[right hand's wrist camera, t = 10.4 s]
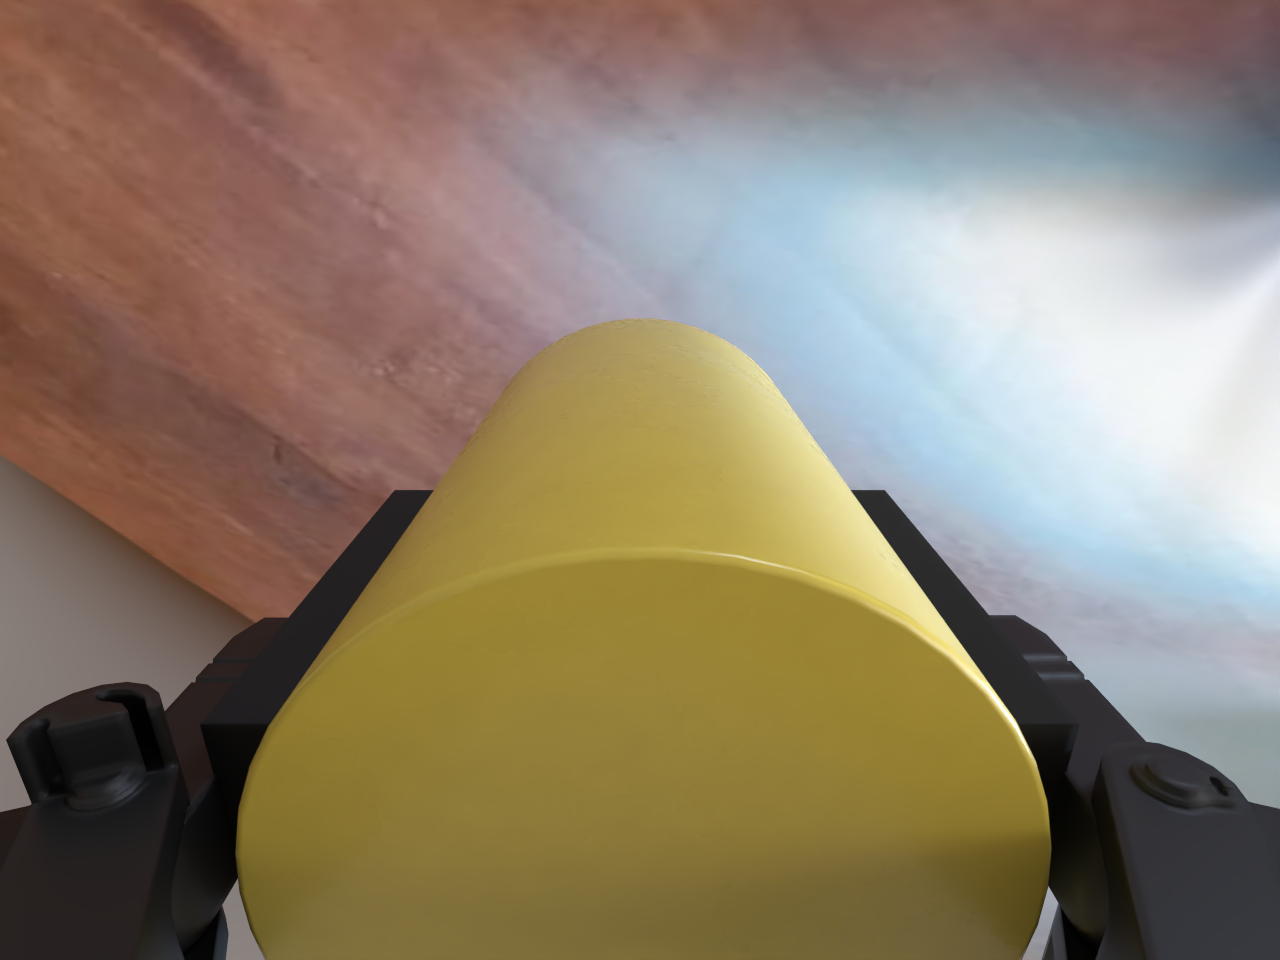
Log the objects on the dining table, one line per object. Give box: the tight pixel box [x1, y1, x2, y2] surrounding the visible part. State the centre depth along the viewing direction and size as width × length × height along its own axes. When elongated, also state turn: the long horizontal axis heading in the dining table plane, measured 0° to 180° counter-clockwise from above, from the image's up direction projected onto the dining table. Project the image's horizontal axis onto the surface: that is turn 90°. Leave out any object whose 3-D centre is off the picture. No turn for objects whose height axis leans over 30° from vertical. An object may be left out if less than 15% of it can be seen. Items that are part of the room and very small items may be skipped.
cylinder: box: [235, 319, 1052, 960], centre depth 12 cm, size 8×8×11 cm
